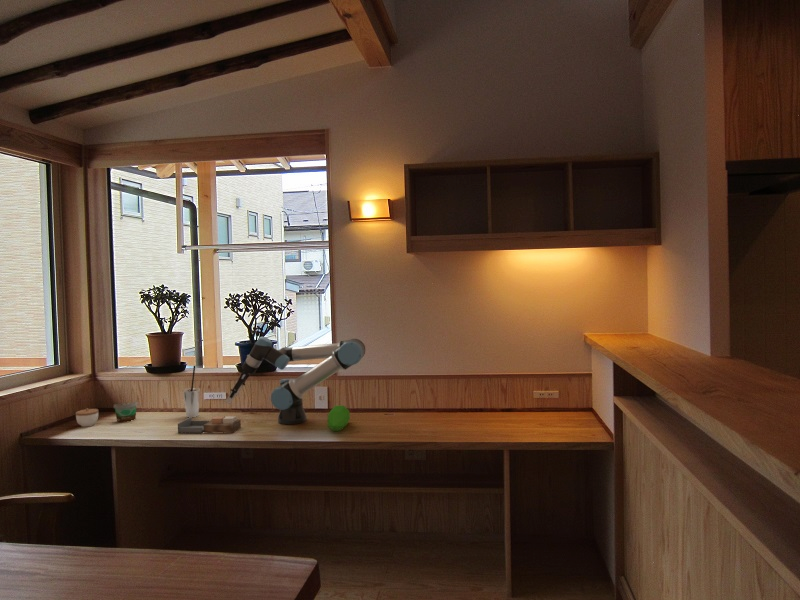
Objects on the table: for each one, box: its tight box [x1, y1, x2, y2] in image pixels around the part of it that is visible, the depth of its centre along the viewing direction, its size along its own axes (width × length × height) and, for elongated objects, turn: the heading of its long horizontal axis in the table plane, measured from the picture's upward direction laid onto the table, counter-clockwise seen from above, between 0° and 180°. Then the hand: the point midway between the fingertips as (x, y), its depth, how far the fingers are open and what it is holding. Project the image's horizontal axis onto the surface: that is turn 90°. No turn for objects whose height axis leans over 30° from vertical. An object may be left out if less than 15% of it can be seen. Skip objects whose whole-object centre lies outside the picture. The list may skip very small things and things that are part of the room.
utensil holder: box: [181, 365, 202, 418], centre depth 304 cm, size 11×11×30 cm
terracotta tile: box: [211, 415, 226, 424], centre depth 276 cm, size 5×5×2 cm
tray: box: [177, 417, 210, 434], centre depth 278 cm, size 13×13×5 cm
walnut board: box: [203, 418, 242, 434], centre depth 276 cm, size 15×11×4 cm
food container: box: [113, 400, 139, 423], centre depth 297 cm, size 12×6×10 cm, turn 129°
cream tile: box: [223, 415, 237, 424], centre depth 276 cm, size 5×5×2 cm
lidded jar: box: [75, 407, 99, 428], centre depth 290 cm, size 11×11×9 cm
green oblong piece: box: [327, 405, 351, 432], centre depth 273 cm, size 11×12×30 cm
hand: (231, 398), depth 280 cm, fingers open, 13 cm apart
